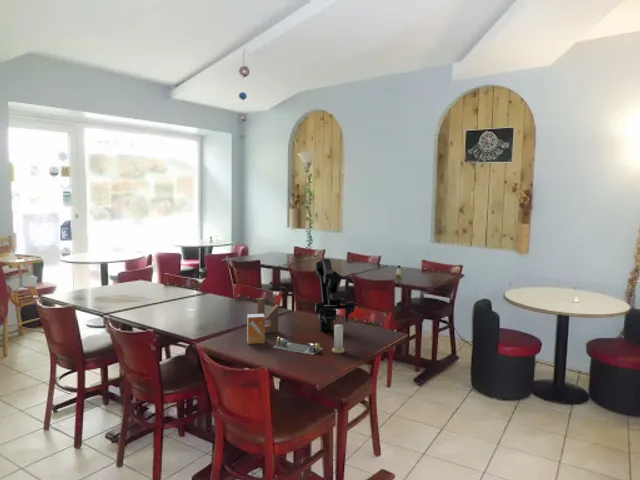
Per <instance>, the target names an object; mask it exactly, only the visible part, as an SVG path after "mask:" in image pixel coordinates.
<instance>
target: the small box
mask: <svg viewBox="0 0 640 480" xmlns="http://www.w3.org/2000/svg"><path fill="white" fill-rule="evenodd" d="M246 315H247V316H246V321H247V322H246V341H247V344H248V345H251V344H265V341H266V340H265V339H266V337H265V335H266V333H265V325H266V320H265V316H266V315H265V316H264V314H257V313H251V314H249V313H248V314H246Z"/></svg>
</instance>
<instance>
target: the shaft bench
mask: <svg viewBox="0 0 640 480" xmlns="http://www.w3.org/2000/svg"><path fill="white" fill-rule="evenodd" d="M275 341H276V342H275V343H276V345H274V346H273V347H272V348H273V349H277V350H283V351H287V352H293V353H299V354H304V355H310V356H314V355H316V354H317V353H319V352H321V351H322V350H323V347H321V344H320V343H319V342H315V343H312V342H309V343H308V344H307V345H306V344H300V343H295V342H289V340H288V339H287V338H284V337H282V336H277V338H276V340H275Z"/></svg>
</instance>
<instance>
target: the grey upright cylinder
mask: <svg viewBox="0 0 640 480" xmlns="http://www.w3.org/2000/svg"><path fill="white" fill-rule="evenodd" d="M333 330H334V331H333V347H331V348H332V349H331V352H332V353H335V354H342V353H345V348H344V347H343V345H344V344H343V343H344V341H343V340H344V325H343V324H342V323H341V324H338V323H337V324H333Z"/></svg>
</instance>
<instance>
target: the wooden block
mask: <svg viewBox="0 0 640 480" xmlns="http://www.w3.org/2000/svg"><path fill="white" fill-rule="evenodd" d="M265 300H266V299H265V297H259V298H257V311H256V312H257V313H256V314H264V316H265V321H268V320H269V324H265V334H271V333H272V334H275V333H278V332H279V305H278V304H275V305H274V306H273V307H272V308H271V309H270V310H269V311H268V312H267V313H266V314H265V312H266V311H265V309H266V308H265V307H266V306H265V303H266V301H265Z"/></svg>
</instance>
